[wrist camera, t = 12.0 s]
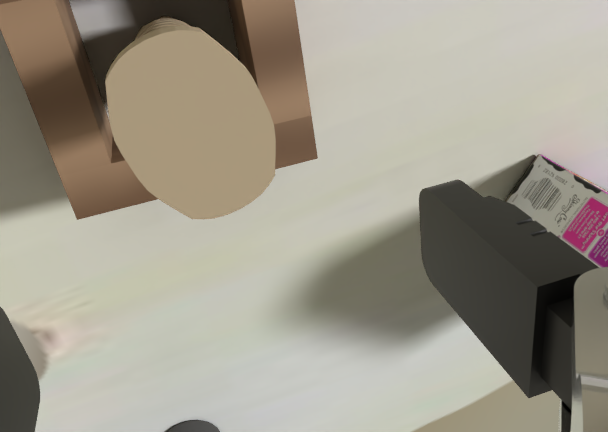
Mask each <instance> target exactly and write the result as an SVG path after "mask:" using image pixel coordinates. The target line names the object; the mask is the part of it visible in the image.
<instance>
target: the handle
mask: <svg viewBox="0 0 608 432" xmlns="http://www.w3.org/2000/svg"><path fill="white" fill-rule="evenodd" d="M105 85H106V94H107V104H108V112H109V119H110V126H111V130H112V134H113V137H114V141H115V143H116V145H117V146H118V148H119V150H120V152H121V154H122V156H123V157H124V159H125V160H126V162H127V163H128V165H129V166H130V168H131V169H132V171H133V172H134V174H135V175H136V177H137V178H138V180H139V181H140V182H141V183H142V184H143V186H144V187H145V188H146V189H147V190H148V191H149V192H150V193H151V194H153V195H154V196H155V197H157V198H158V199H159V200H161V201H162V202H164V203H166V204H167V205H169V206H171V207H172V208H174V209H176V210H177V211H179V212H181V213H182V214H184V215H186V216H188V217H189V218H191V219H212V218H217V217H221V216H224V215H228V214H230V213H232V212H234V211H237V210H239V209H241V208H243V207H244V206H246V205H247V204H249V203H251V202H252V201H254V200H255V199H256V198H257V197H258V196H260V195H261V194H262V193H263V192H264V190H265V189H266V188H267V187H268V186H269V184H270V183H271V181H272V179H273V178H274V176H275V157H276V138H275V129H274V123H273V121H272V118H271V115H270V112H269V110H268V108H267V106H266V104H265V101H264V99H263V97H262V95H261V93H260V91H259V89H258V87H257V85H256V83H255V81H254V79H253V77H252V76H251V74H250V73H249V71H248V70H247V69H246V67H245V66H244V65H243V64H242V63H241V62H240V61H239V60H238V59H237V58H236V57H234V56H233V55H232V54H231V53H230V52H229V51H228V50H226V49H225V48H224V47H223V46H222V45H221V44H219V43H218V42H217V41H216V40H214V39H213V38H212V37H210V36H209V35H208V34H207V33H205V32H204V31H203V30H201V29H200V28H198V27H191V26H190V25H188V24H187V23H185V22H182V21H180V20H176V19H172V18H171V17H170V16H162V17H160V19H157V20H154V21H152V22H150V23H148V24H147V25H144V26H142V27H141V28H140V30H139V32H138V34H137V36H136V38H135V40H134V41H133V42H132V43H130V44H129V45H128V46H127V47H126V48H125V49H123V50H122V51H121V52H120V53H119V54H118V56H117V57H116V59H115V60H114V61H113V63H112V64H111V66H110V68H109V70H108V72H107V74H106V79H105Z"/></svg>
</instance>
